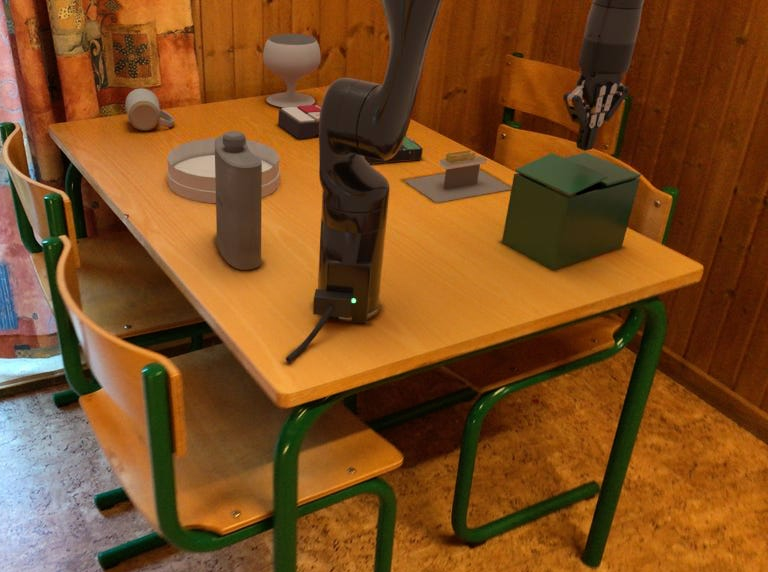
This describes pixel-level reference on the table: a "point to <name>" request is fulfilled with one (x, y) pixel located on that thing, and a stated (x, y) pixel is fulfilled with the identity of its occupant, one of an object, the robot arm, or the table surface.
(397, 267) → the table surface
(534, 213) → the green flap box
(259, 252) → the flask
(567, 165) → the green box lid flap
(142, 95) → the ceramic mug
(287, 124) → the dark box with panels
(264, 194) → the dish
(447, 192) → the platform
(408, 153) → the disk drive
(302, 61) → the chalice
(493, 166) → the table surface
